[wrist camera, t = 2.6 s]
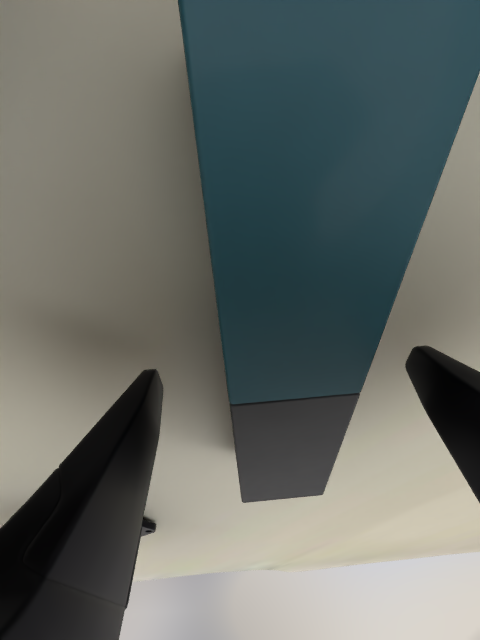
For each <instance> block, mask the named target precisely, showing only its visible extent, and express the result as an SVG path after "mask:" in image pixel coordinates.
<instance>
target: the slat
mask: <svg viewBox="0 0 480 640" xmlns="http://www.w3.org/2000/svg"><path fill="white" fill-rule="evenodd" d="M178 5H179V12H180V20H181V28H182V36H183V44H184V52H185V59H186V67H187V75H188V83H189V91H190V99H191V107H192V114H193V122H194V130H195V138H196V146H197V154H198V161H199V169H200V177H201V185H202V193H203V201H204V209H205V216H206V224H207V232H208V240H209V248H210V256H211V263H212V271H213V279H214V287H215V295H216V303H217V310H218V318H219V326H220V334H221V342H222V350H223V358H224V365H225V373H226V381H227V389H228V397H229V404H230V412H231V420H232V428H233V436H234V444H235V452H236V460H237V467H238V475H239V483H240V491H241V499H242V502H243V503H246V502H256V501H266V500H276V499H286V498H297V497H307V496H317V495H323V492H324V490H325V487H326V484H327V482H328V479H329V476H330V474H331V471H332V468H333V466H334V463H335V460H336V457H337V455H338V452H339V449H340V447H341V444H342V441H343V439H344V436H345V433H346V430H347V428H348V425H349V422H350V420H351V417H352V414H353V412H354V409H355V406H356V404H357V401H358V398H359V395H360V392H361V390H362V387H363V385H364V382H365V379H366V377H367V374H368V371H369V368H370V366H371V363H372V360H373V358H374V355H375V352H376V350H377V347H378V344H379V342H380V339H381V336H382V333H383V331H384V328H385V325H386V323H387V320H388V317H389V315H390V312H391V309H392V306H393V304H394V301H395V298H396V296H397V293H398V290H399V288H400V285H401V282H402V280H403V277H404V274H405V271H406V269H407V266H408V263H409V261H410V258H411V255H412V253H413V250H414V247H415V244H416V242H417V239H418V236H419V234H420V231H421V228H422V226H423V223H424V220H425V218H426V215H427V212H428V209H429V207H430V204H431V201H432V199H433V196H434V193H435V191H436V188H437V185H438V182H439V180H440V177H441V174H442V172H443V169H444V166H445V164H446V161H447V158H448V156H449V153H450V150H451V147H452V145H453V142H454V139H455V137H456V134H457V131H458V129H459V126H460V123H461V120H462V118H463V115H464V112H465V110H466V107H467V104H468V102H469V99H470V96H471V94H472V91H473V88H474V85H475V83H476V80H477V77H478V75H479V72H480V0H178Z"/></svg>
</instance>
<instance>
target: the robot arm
mask: <svg viewBox="0 0 480 640" xmlns="http://www.w3.org/2000/svg"><path fill="white" fill-rule="evenodd" d="M405 367H406V371H407V373H408V375H409V377H410V379H411V381H412V384H413V386H414V388H415V390H416V392H417V394H418V397H419V399H420V401H421V403H422V405H423V407H424V409H425V411H426V413H427V415H428V416H429V418H430V420H431V421H432V423H433V425H434V427H435V428H436V430H437V432H438V433H439V435H440V437H441V438H442V440H443V442H444V443H445V445H446V447H447V449H448V450H449V452H450V454H451V455H452V457H453V459H454V460H455V462H456V464H457V465H458V467H459V469H460V471H461V472H462V474H463V476H464V477H465V479H466V481H467V482H468V484H469V486H470V487H471V489H472V491H473V493H474V494H475V496H476V498H477V499H478V501H479V503H480V372H478V371H476V370H475V369H473V368H471V367H469V366H467V365H465V364H463V363H461V362H459V361H457V360H455V359H453V358H451V357H449V356H447V355H445V354H443V353H441V352H439V351H437V350H435V349H433V348H431V347H429V346H416V347H414V348H413V349H412V351H411V353H410V355H409V357H408V359H407V361H406V364H405ZM162 401H163V384H162V381H161V378H160V376H159V373H158V371H157V370H156V369H149V370H144V371H143V372H142V373H141V374H140V375H139V376H138V377H137V378H136V380H135V381H134V382H133V383H132V384H131V385H130V386H129V387H128V389H127V390H126V391H125V392H124V393H123V394H122V395H121V396H120V398H119V399H118V400H117V401H116V402H115V403H114V404H113V405H112V407H111V408H110V409H109V410H108V411H107V412H106V413H105V415H104V416H103V417H102V418H101V419H100V420H99V421H98V422H97V424H96V425H95V426H94V427H93V428H92V429H91V430H90V431H89V433H88V434H87V435H86V436H85V437H84V438H83V439H82V440H81V442H80V443H79V444H78V445H77V446H76V447H75V448H74V449H73V451H72V452H71V453H70V454H69V455H68V456H67V457H66V459H65V460H64V461H63V462H62V463H61V464H60V465H59V468H57V469H56V470H55V471H54V472H53V473H52V474H51V475H50V476H49V478H48V479H47V480H46V481H45V482H44V483H43V484H42V485H41V486H40V488H39V489H38V490H37V491H36V492H35V493H34V494H33V495H32V496H31V497H30V498H29V499H28V501H27V502H26V503H25V504H24V505H23V506H22V507H21V508H20V509H19V510H18V511H17V512H16V513H15V514H14V515H13V516H12V517H11V518H10V519H9V520H8V521H7V522H6V523H5V524H4V525H3V526H2V527H1V528H0V640H119V635H120V631H121V626H122V621H123V616H124V611H125V609H126V608H127V605H128V601H129V596H130V591H131V585H132V580H133V575H134V570H135V564H136V559H137V554H138V548H139V543H140V538H141V536H144V535H148V534H151V533H154V532H155V530H156V524H155V523H152V522H148V521H145V520H143V515H144V510H145V505H146V500H147V495H148V490H149V485H150V480H151V475H152V470H153V465H154V460H155V455H156V450H157V445H158V440H159V434H160V424H161V413H162Z"/></svg>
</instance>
